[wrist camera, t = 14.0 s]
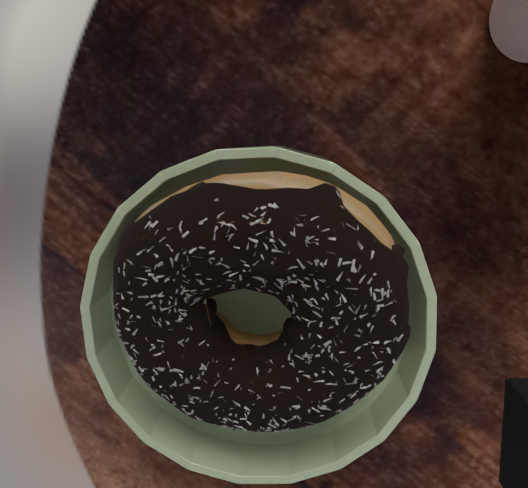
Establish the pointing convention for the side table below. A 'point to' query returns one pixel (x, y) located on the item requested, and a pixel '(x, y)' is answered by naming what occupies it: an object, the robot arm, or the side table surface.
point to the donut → (268, 282)
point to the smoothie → (510, 28)
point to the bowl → (259, 323)
